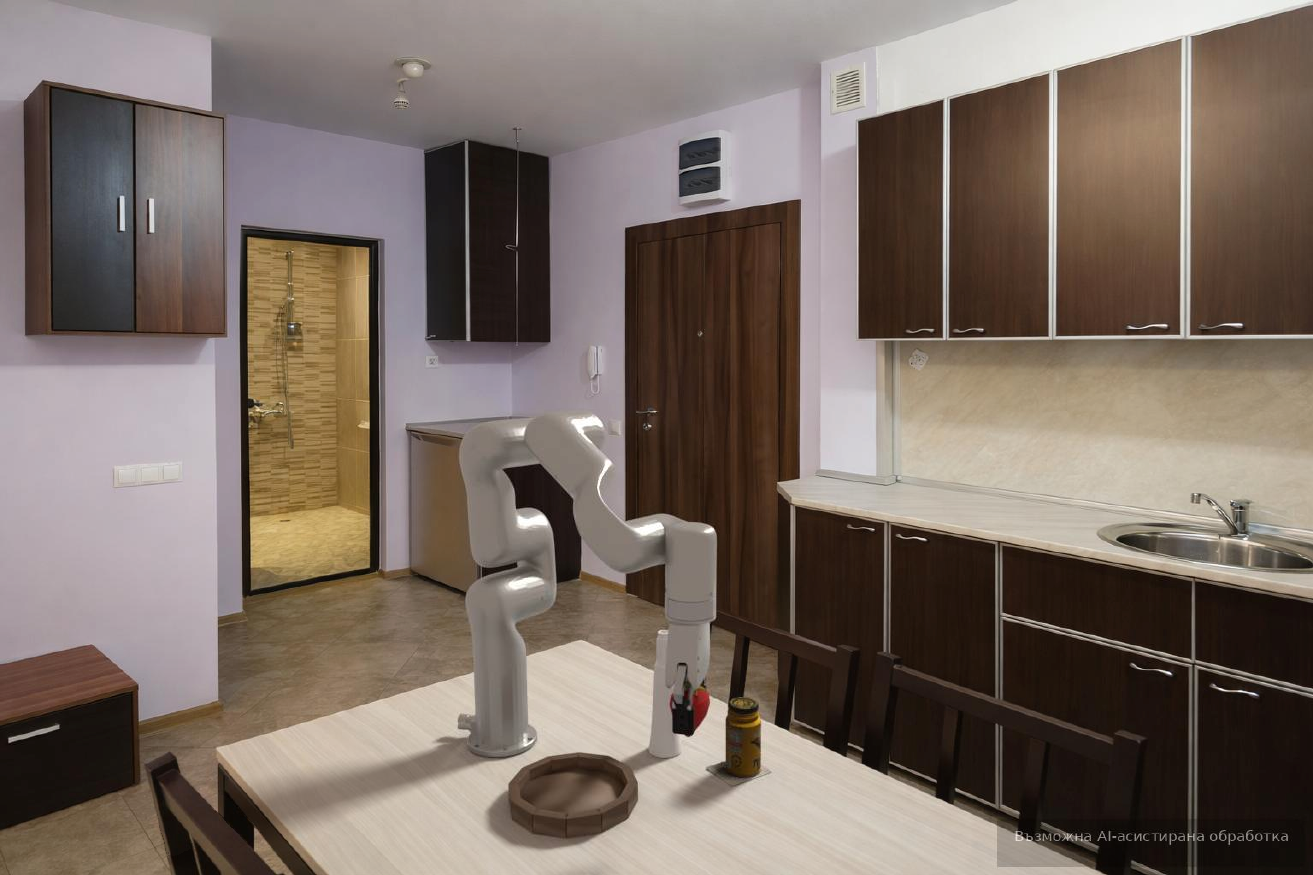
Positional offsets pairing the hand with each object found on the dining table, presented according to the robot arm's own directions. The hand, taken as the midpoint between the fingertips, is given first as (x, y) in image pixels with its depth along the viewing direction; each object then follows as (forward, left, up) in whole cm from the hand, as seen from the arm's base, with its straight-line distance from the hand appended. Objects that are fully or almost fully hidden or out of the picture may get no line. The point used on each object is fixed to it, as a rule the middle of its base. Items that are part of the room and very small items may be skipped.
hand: (689, 720), depth 125 cm
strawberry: (0, 0, -3) cm, 3 cm away
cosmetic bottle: (-10, +22, -16) cm, 29 cm away
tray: (-20, +2, -16) cm, 26 cm away
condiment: (+4, +18, -17) cm, 25 cm away
